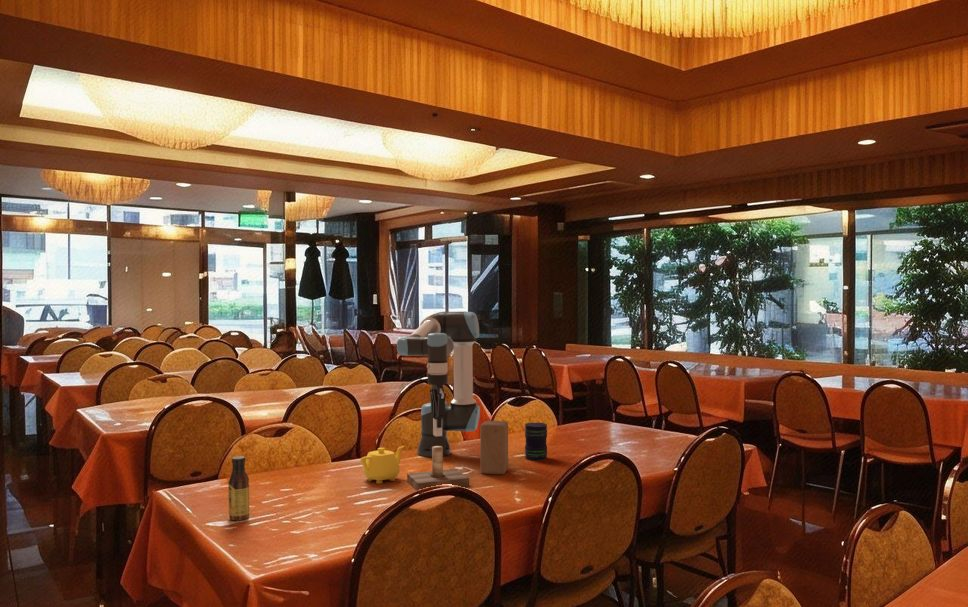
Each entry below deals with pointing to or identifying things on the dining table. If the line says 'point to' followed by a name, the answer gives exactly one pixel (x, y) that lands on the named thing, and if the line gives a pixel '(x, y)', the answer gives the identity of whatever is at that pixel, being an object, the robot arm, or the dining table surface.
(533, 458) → the storage jar
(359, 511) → the dining table surface
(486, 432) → the wooden block
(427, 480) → the board
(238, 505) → the sauce bottle
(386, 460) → the teapot
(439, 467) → the peg
